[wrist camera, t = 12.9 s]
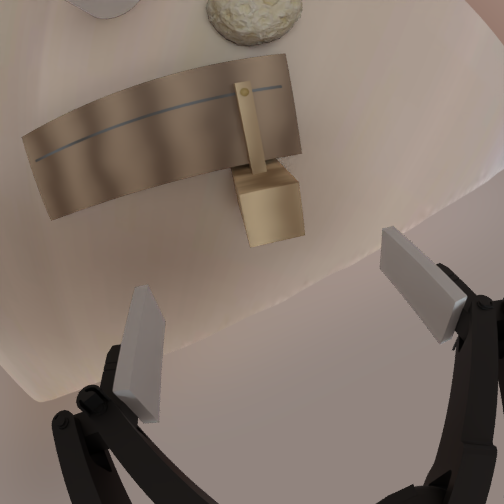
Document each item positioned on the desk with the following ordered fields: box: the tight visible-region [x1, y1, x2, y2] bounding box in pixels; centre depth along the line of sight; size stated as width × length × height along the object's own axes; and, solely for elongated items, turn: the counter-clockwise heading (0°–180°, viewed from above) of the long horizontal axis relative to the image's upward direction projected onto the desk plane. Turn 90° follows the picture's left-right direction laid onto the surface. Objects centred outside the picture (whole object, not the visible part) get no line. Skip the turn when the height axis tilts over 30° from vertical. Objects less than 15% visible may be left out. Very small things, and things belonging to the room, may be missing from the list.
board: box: [22, 54, 302, 221], centre depth 28 cm, size 30×11×3 cm, turn 101°
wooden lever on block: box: [231, 81, 305, 248], centre depth 27 cm, size 5×14×10 cm, turn 11°
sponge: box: [206, 0, 302, 46], centre depth 21 cm, size 9×10×10 cm
